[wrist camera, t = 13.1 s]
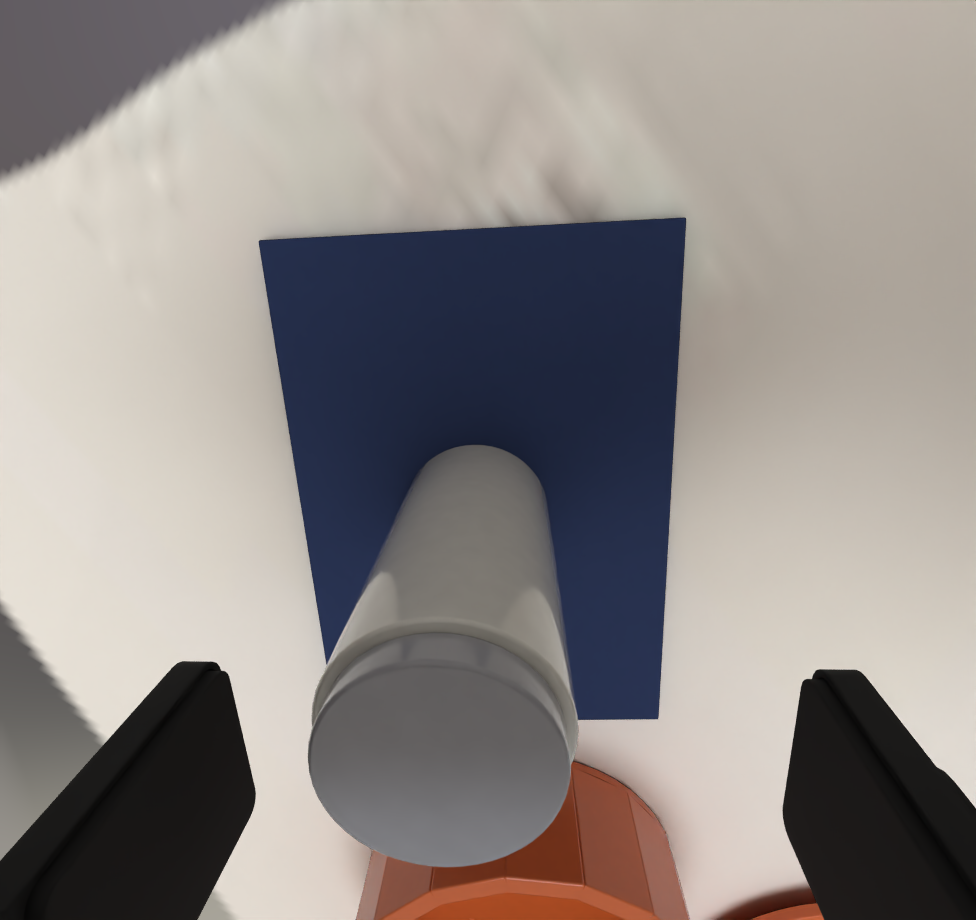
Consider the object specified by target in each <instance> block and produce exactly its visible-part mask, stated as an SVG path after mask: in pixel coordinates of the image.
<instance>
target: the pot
mask: <svg viewBox="0 0 976 920" xmlns="http://www.w3.org/2000/svg"><path fill="white" fill-rule="evenodd" d="M356 920H690V917H689V913H688V910H687V906H686V902H685V898H684V895H683V891H682V887H681V884H680V880H679V876H678V873H677V869H676V866H675V863H674V859H673V856H672V853H671V849H670V845H669V842H668V839H667V836H666V832H665V831H664V829H663V827H662V826H661V824H660V823H659V821H658V819H657V818H656V816H655V814H654V813H653V812H652V811H651V810H650V809H649V807H648V806H647V805H646V804H645V803H644V801H642V800H641V799H640V798H639V797H638V796H637V795H636V794H635V793H634V792H632V791H631V790H630V789H629V788H627V787H626V786H624V785H623V784H621V783H620V782H618V781H617V780H615V779H614V778H612V777H610V776H608V775H606V774H604V773H602V772H600V771H598V770H596V769H593V768H590V767H588V766H585V765H583V764H580V763H576V762H572V764H571V776H570V784H569V788H568V792H567V795H566V798H565V800H564V802H563V805H562V807H561V809H560V811H559V813H558V814H557V816H556V817H555V819H554V821H553V822H552V823H551V824H550V825H549V827H548V828H547V829H546V830H545V831H544V832H543V833H542V834H541V835H540V836H539V837H537V838H536V839H535V840H534V841H533V842H531V843H530V844H528V845H527V846H525V847H523V848H522V849H520V850H518V851H516V852H514V853H512V854H510V855H508V856H506V857H503V858H500V859H497V860H495V861H491V862H487V863H483V864H479V865H472V866H465V867H430V866H424V865H417V864H412V863H408V862H404V861H400V860H397V859H394V858H392V857H389V856H386V855H384V854H381V853H379V852H377V851H375V850H372V855H371V859H370V863H369V867H368V871H367V875H366V880H365V884H364V888H363V892H362V896H361V900H360V904H359V909H358V913H357V917H356Z"/></svg>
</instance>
